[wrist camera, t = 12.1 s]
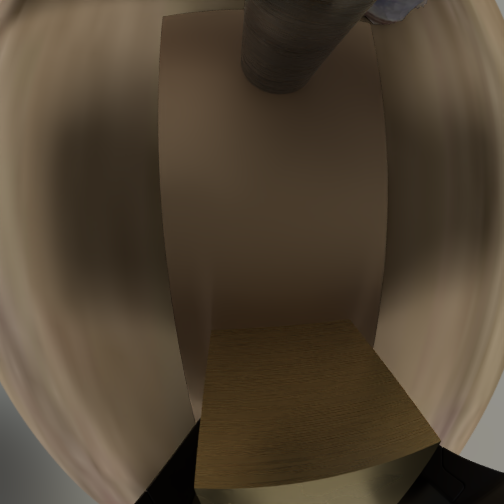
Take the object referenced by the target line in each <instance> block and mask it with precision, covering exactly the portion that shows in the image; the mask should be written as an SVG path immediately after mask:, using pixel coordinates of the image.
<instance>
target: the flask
mask: <svg viewBox="0 0 504 504" xmlns="http://www.w3.org/2000/svg"><path fill="white" fill-rule="evenodd" d="M424 4H427V0H377V1H376V2H375V3H374V4H373V5H372V7H371V8H370V9H369V10H368V11H367V12H366V13H365V14H364V15H363V16H367V18H368V19H370V21H371V22H372V23H373V24H392V23H395V22H397V21H402V20H403V19H404V17H405V16H406V15H407V14H408V13H409V11H411V10H412V9H413V8H417V9H418V8H419V7H420V6H422V7H424Z"/></svg>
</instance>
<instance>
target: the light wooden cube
mask: <svg viewBox="0 0 504 504" xmlns="http://www.w3.org/2000/svg"><path fill="white" fill-rule="evenodd" d="M440 442H441V440H440V439H439V437H438V436H437V434H436V433H435V432H434V430H433V429H432V427H431V426H430V425H429V423H428V422H427V420H426V419H425V418H424V416H423V415H422V414H421V412H420V411H419V409H418V408H417V407H416V405H415V404H414V403H413V401H412V400H411V399H410V397H409V396H408V394H407V393H406V392H405V390H404V389H403V388H402V386H401V385H400V384H399V382H398V381H397V380H396V378H395V377H394V376H393V374H392V373H391V372H390V371H389V369H388V368H387V367H386V365H385V364H384V363H383V361H382V360H381V359H380V357H379V356H378V355H377V354H376V352H375V351H374V350H373V348H372V347H371V346H370V345H369V343H368V342H367V341H366V339H365V338H364V337H363V336H362V334H361V333H360V332H359V330H358V329H357V328H356V327H355V325H354V324H353V323H352V322H351V320H350V319H345V320H337V321H328V322H319V323H309V324H299V325H288V326H276V327H262V328H246V329H226V330H211V336H210V344H209V352H208V360H207V368H206V376H205V384H204V393H203V402H202V411H201V420H200V429H199V439H198V449H197V460H196V471H195V482H194V489H195V492H196V494H197V496H198V498H199V501H200V503H201V504H397V503H398V502H399V501H400V500H401V498H402V497H403V496H404V495H405V493H406V492H407V491H408V490H409V488H410V487H411V486H412V484H413V483H414V481H415V480H416V479H417V477H418V476H419V475H420V473H421V472H422V470H423V469H424V467H425V466H426V464H427V463H428V461H429V460H430V458H431V457H432V455H433V454H434V452H435V450H436V449H437V447H438V445H439V444H440Z"/></svg>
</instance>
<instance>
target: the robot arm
mask: <svg viewBox="0 0 504 504" xmlns="http://www.w3.org/2000/svg"><path fill="white" fill-rule="evenodd" d="M200 420H201V418H200V419H199V420H198V421H197V423H196V424H195V425H194V427H193V428H192V430H191V431H190V432H189V434H188V435H187V436H186V438H185V439H184V441H183V442H182V443H181V445H180V446H179V447H178V449H177V450H176V451H175V453H174V454H173V455H172V457H171V458H170V459H169V461H168V462H167V463H166V465H165V466H164V467H163V469H162V470H161V471H160V472H159V474H158V475H157V476H156V478H155V479H154V480H153V481H152V483H151V484H150V485H149V487H148V488H147V489H146V491H144V493H143V494H142V495H141V496H140V498H139V499H138V500H137V501H136V502H135V503H134V504H201V503H200V501H199V498H198V496H197V494H196V492H195V489H194V482H195V471H196V460H197V449H198V439H199V429H200ZM397 504H504V473H503V472H499V471H497V470H494V469H491V468H488V467H485V466H483V465H480V464H477V463H475V462H472V461H470V460H467V459H465V458H463V457H461V456H459V455H457V454H455V453H453V452H451V451H449V450H448V449H446V448H444V447H443V448H442V446H440V445H438V447H437V449H436V450H435V452H434V454H433V455H432V457H431V458H430V460H429V461H428V463H427V464H426V466H425V467H424V469H423V470H422V472H421V473H420V475H419V476H418V477H417V479H416V480H415V481H414V483H413V484H412V486H411V487H410V488H409V490H408V491H407V492H406V493H405V495H404V496H403V497H402V498H401V500H400V501H399V502H398V503H397Z"/></svg>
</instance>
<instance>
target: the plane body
mask: <svg viewBox="0 0 504 504" xmlns="http://www.w3.org/2000/svg"><path fill="white" fill-rule="evenodd" d="M243 20H244V9H235V10H214V11H202V12H192V13H184V14H176V15H169V16H163V19H162V31H161V44H160V61H159V87H158V146H159V174H160V192H161V207H162V220H163V231H164V242H165V251H166V260H167V269H168V277H169V285H170V292H171V299H172V306H173V313H174V319H175V325H176V331H177V337H178V343H179V348H180V354H181V359H182V364H183V369H184V374H185V379H186V384H187V388H188V393H189V397H190V402H191V406H192V410H193V414H194V418H195V423H197V421H198V420H199V419H200V418H201V411H202V402H203V393H204V384H205V376H206V368H207V360H208V352H209V344H210V336H211V330H226V329H246V328H262V327H276V326H288V325H299V324H309V323H319V322H328V321H337V320H345V319H350V320H351V322H352V323H353V324H354V325H355V327H356V328H357V329H358V330H359V332H360V333H361V334H362V336H363V337H364V338H365V339H366V341H367V342H368V343H369V345H370V346H371V347H372V348H373V346H374V341H375V335H376V329H377V322H378V316H379V309H380V301H381V293H382V285H383V275H384V264H385V252H386V236H387V210H388V169H387V143H386V128H385V116H384V105H383V96H382V88H381V80H380V73H379V67H378V61H377V55H376V49H375V44H374V39H373V34H372V29H371V25H370V23H367V22H363V21H358V22H357V23H356V24H355V26H354V27H353V28H352V29H351V30H350V31H349V33H348V34H347V35H346V36H345V37H344V38H343V40H342V41H341V42H340V43H339V44H338V45H337V47H336V48H335V49H334V50H333V51H332V53H331V54H330V55H329V56H328V57H327V59H326V60H325V61H324V62H323V64H322V65H321V66H320V67H319V69H318V70H317V71H316V72H315V73H314V75H313V76H312V77H311V78H310V80H309V81H308V82H307V83H306V84H305V85H304V86H303V87H302V88H301V89H299V90H297V91H295V92H292V93H288V94H273V93H268V92H265V91H262V90H260V89H258V88H257V87H255V86H254V85H252V84H251V83H250V82H249V81H248V80H247V78H246V77H245V75H244V73H243V71H242V68H241V47H242V33H243Z"/></svg>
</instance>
